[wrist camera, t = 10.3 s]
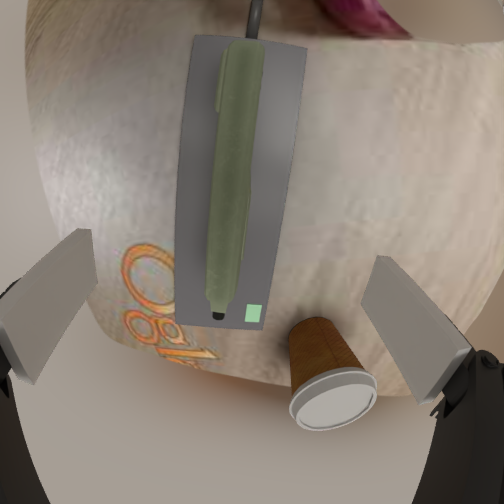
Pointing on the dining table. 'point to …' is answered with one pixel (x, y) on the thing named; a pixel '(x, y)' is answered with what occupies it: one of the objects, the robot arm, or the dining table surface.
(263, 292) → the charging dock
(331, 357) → the disposable coffee cup
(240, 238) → the handheld radio
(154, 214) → the dining table surface
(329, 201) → the dining table surface
